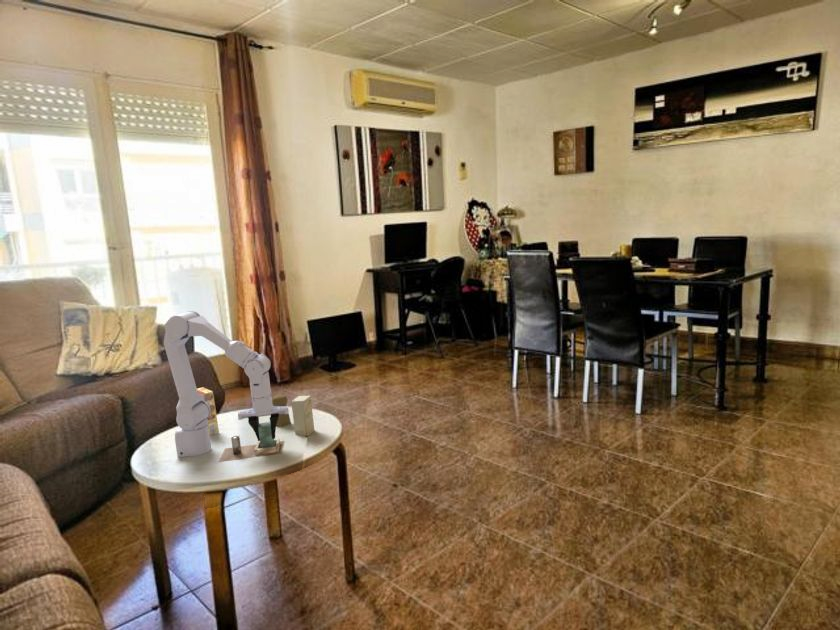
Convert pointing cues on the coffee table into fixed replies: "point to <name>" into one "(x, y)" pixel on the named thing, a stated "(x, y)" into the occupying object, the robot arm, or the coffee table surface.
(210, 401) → the candy box
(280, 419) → the cork
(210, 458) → the coffee table surface
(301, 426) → the skincare box
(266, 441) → the peg
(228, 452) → the brown board
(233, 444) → the brushed metal cylinder
